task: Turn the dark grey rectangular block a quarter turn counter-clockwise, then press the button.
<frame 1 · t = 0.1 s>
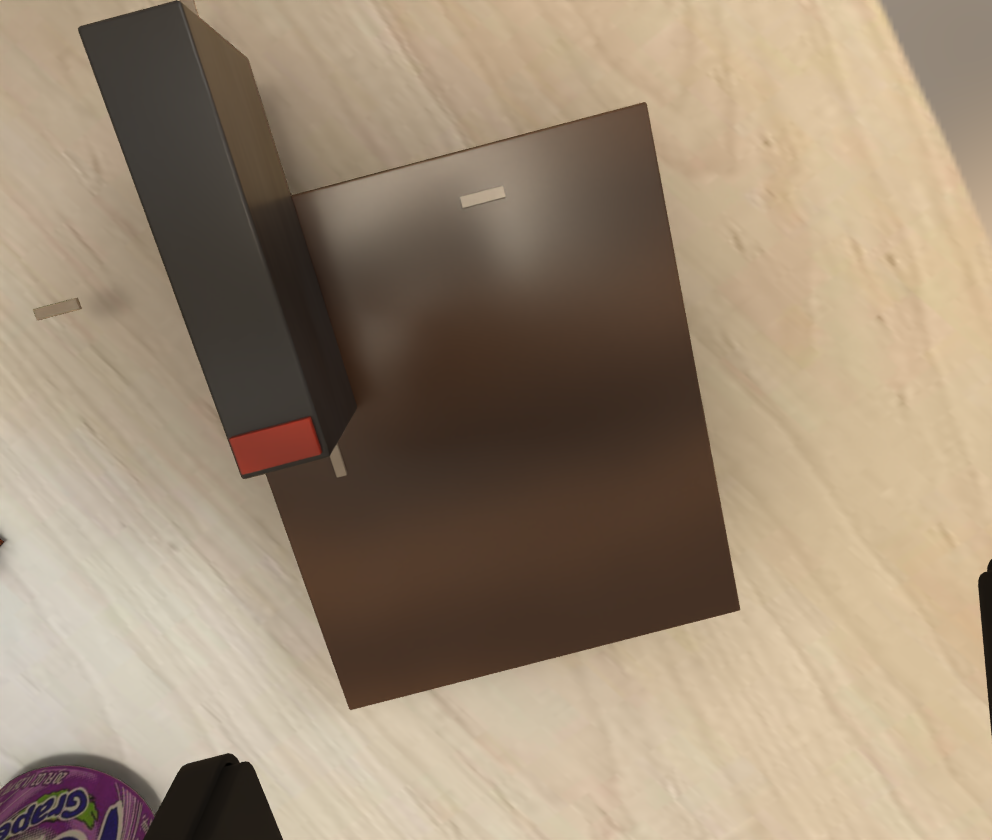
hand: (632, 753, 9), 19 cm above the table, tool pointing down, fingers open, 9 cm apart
dark grey rectangular block: (243, 255, 20), point 6 cm above the table, hinge at 0.0°
rack base: (480, 414, 28), on the table
beverage can: (84, 819, 31), on the table
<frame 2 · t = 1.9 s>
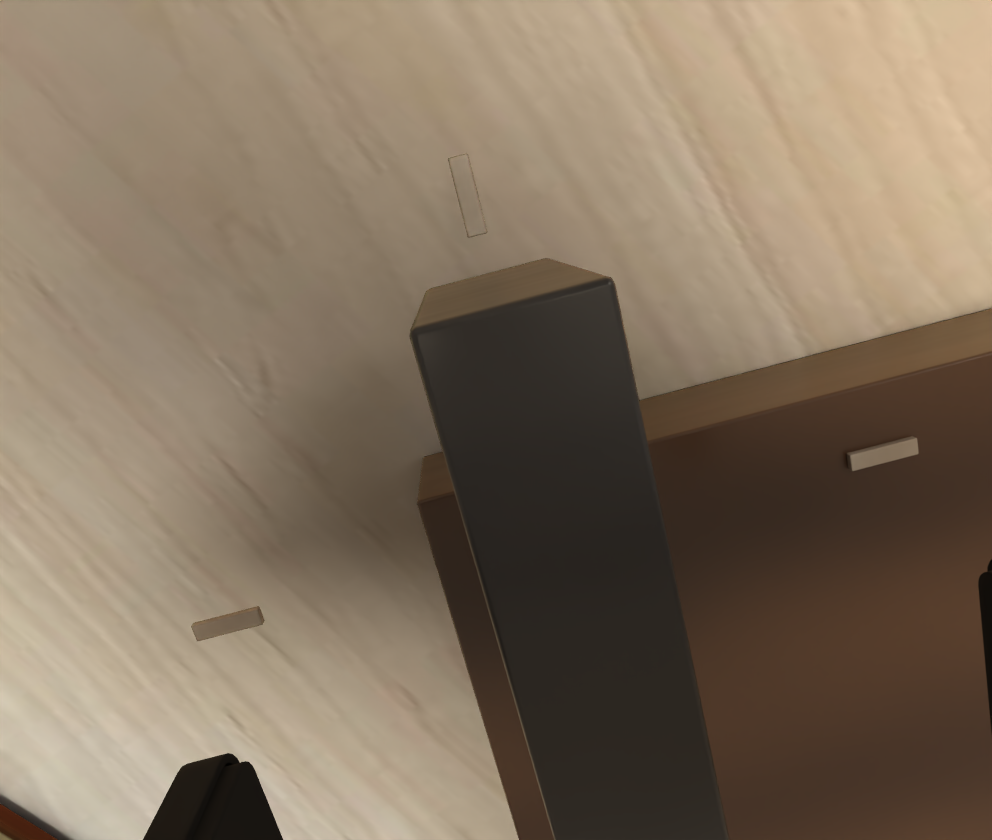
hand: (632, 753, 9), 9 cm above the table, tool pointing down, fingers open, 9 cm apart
dark grey rectangular block: (577, 609, 12), point 6 cm above the table, hinge at 0.0°
rack base: (778, 691, 20), on the table
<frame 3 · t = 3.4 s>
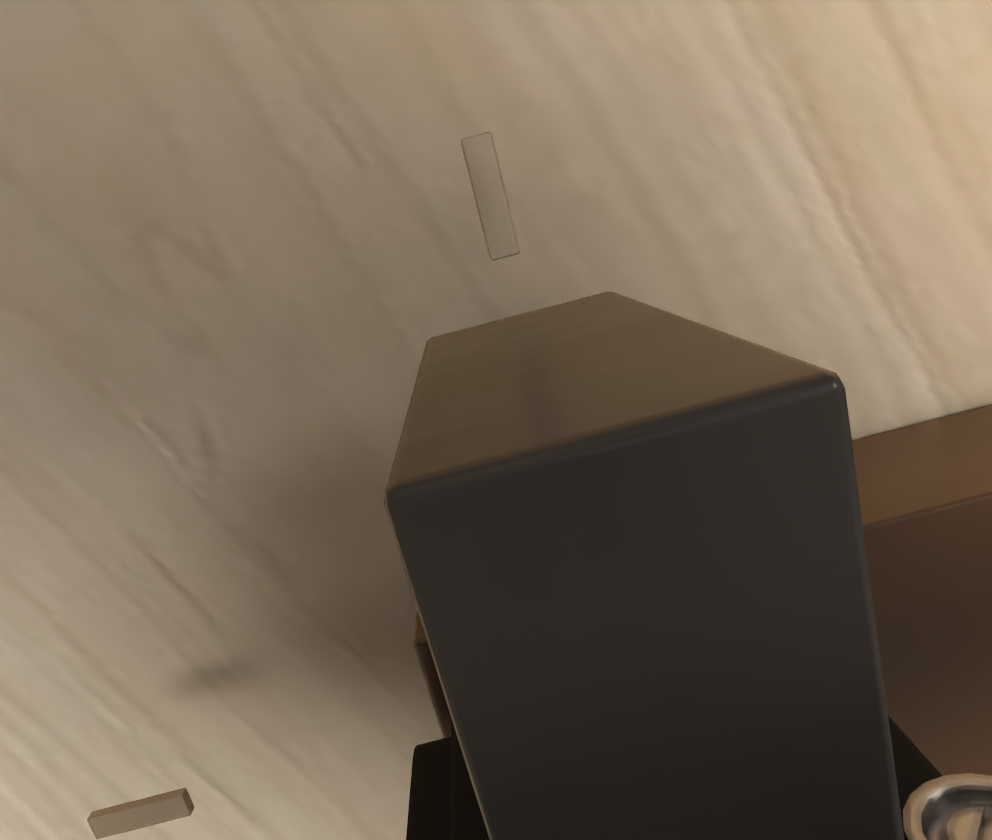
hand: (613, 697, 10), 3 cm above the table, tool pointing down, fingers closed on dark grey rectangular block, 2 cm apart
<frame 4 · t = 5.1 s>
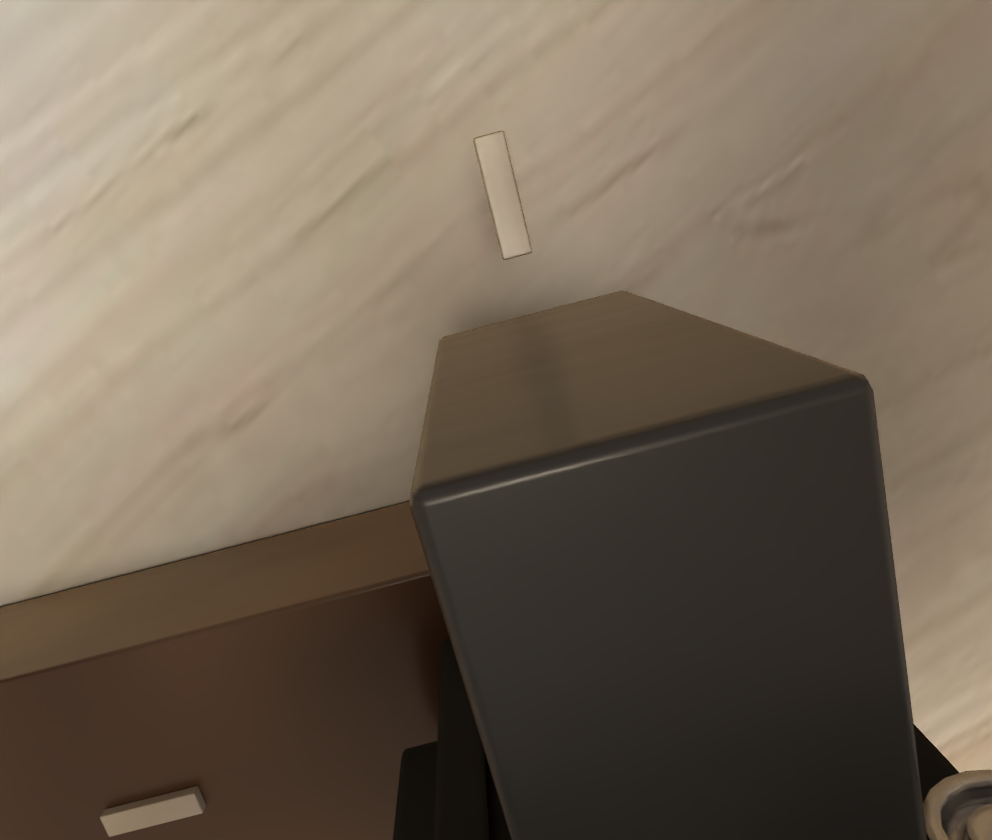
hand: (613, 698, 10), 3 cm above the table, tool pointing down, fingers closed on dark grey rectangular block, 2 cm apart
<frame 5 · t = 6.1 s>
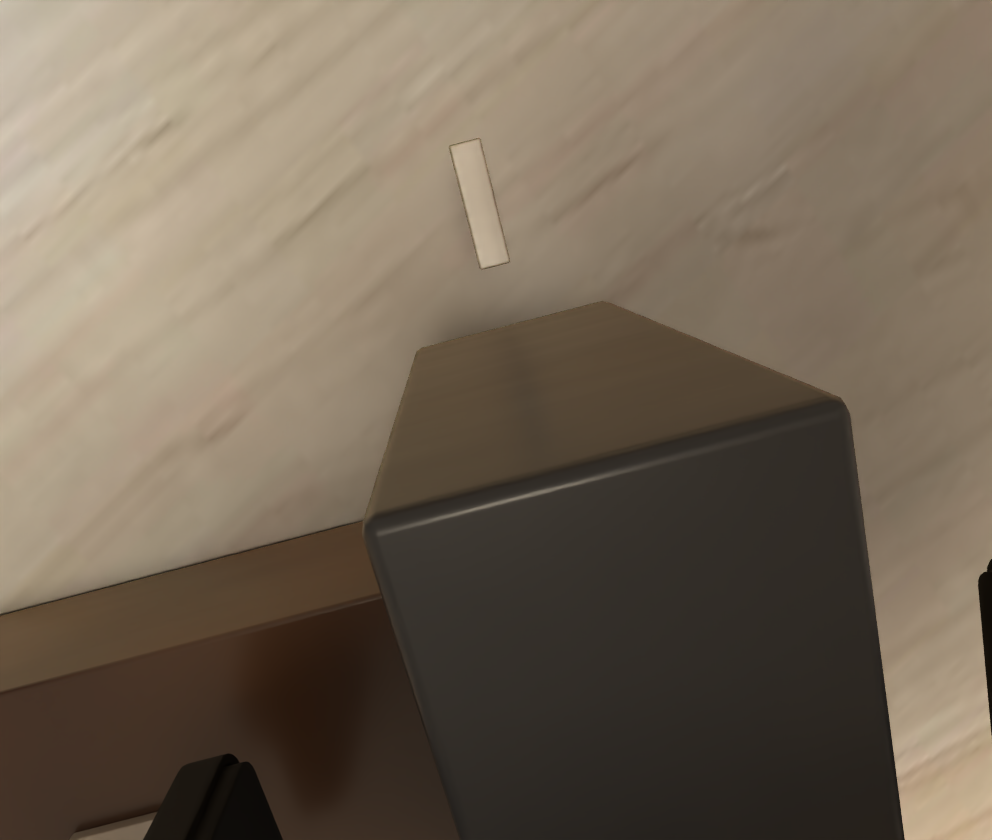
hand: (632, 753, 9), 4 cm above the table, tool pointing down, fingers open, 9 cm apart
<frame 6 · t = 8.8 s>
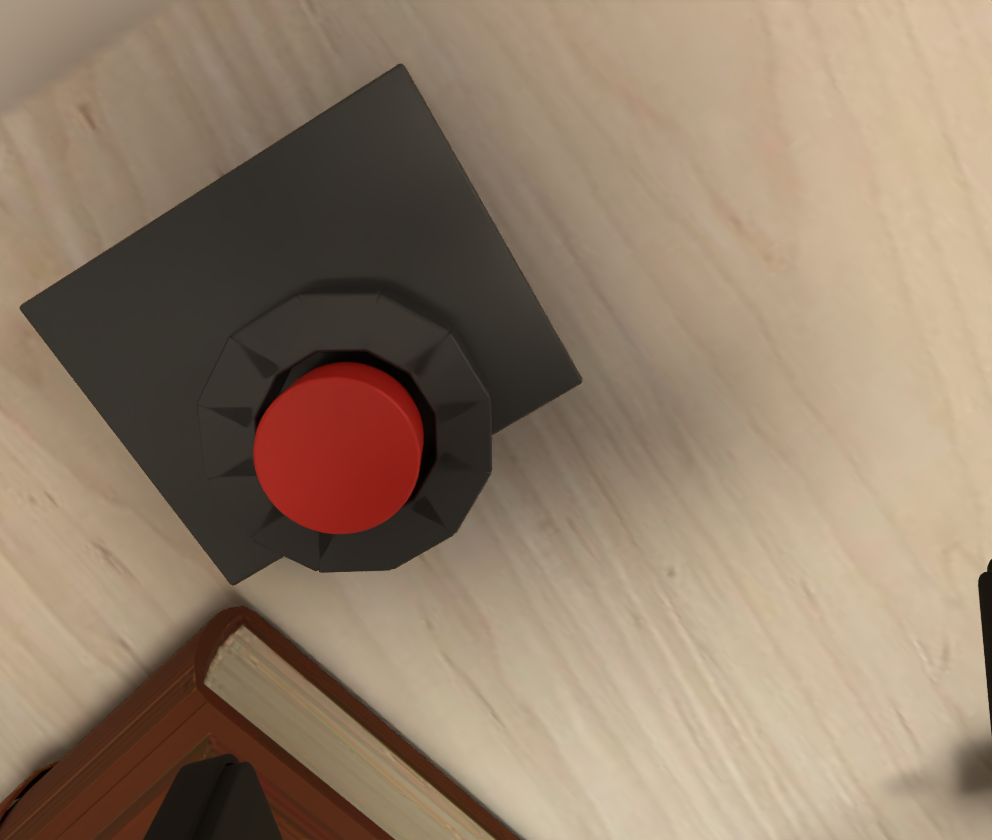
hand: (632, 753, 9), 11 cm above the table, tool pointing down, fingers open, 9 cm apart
button box: (326, 333, 19), on the table
button: (343, 445, 15), point 4 cm above the table, slide at 0.1 cm
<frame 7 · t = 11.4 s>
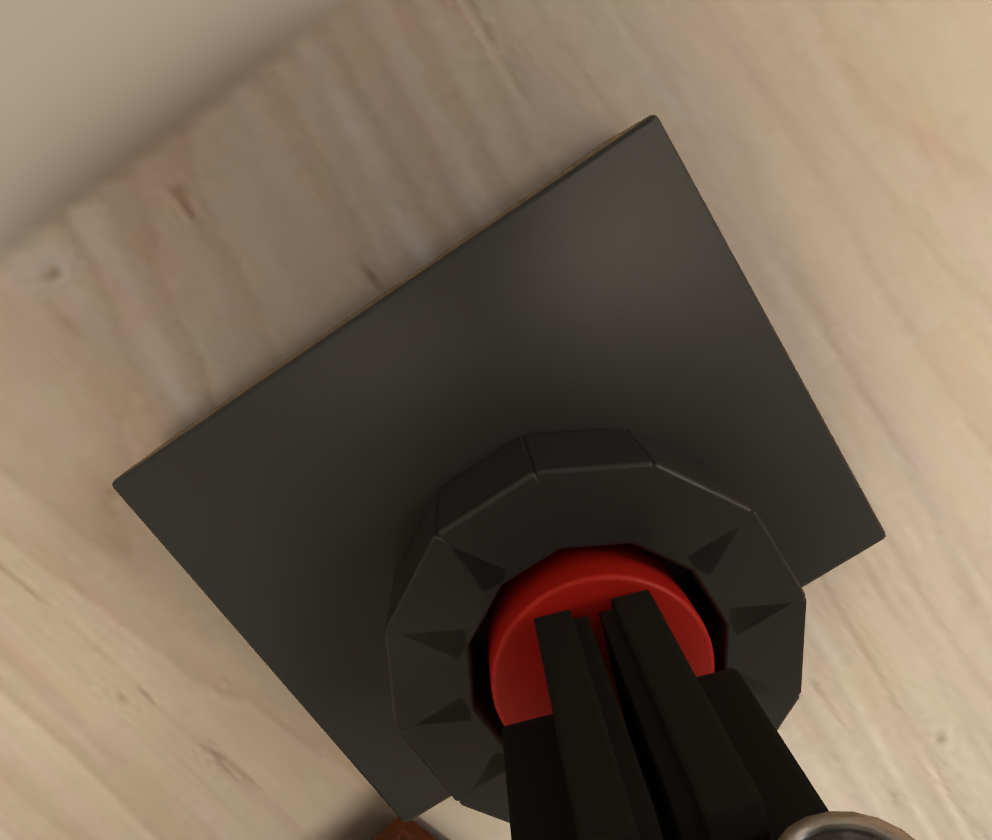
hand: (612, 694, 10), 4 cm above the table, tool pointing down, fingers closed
button box: (505, 469, 14), on the table
button: (592, 645, 11), point 3 cm above the table, slide at -0.9 cm, touching gripper
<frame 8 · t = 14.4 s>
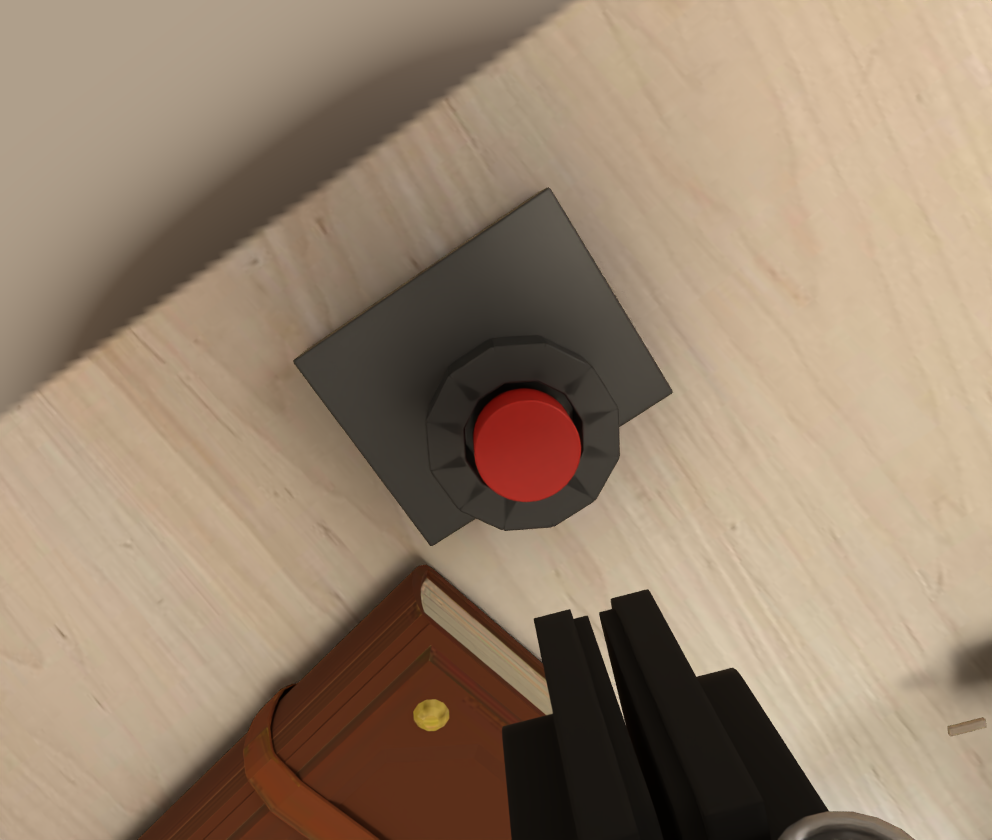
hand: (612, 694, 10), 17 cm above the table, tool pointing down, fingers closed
button box: (484, 365, 26), on the table
button: (525, 444, 22), point 4 cm above the table, slide at 0.1 cm
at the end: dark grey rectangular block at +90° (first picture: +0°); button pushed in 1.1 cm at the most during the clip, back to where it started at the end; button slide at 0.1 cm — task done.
